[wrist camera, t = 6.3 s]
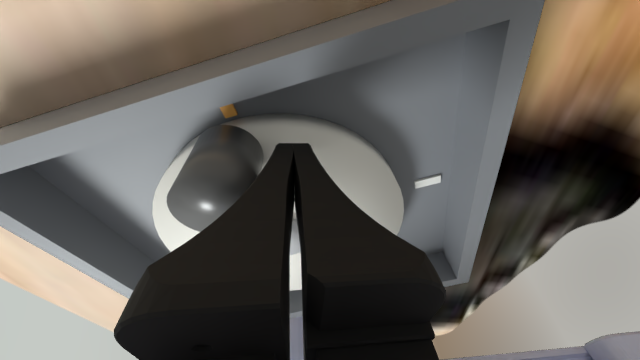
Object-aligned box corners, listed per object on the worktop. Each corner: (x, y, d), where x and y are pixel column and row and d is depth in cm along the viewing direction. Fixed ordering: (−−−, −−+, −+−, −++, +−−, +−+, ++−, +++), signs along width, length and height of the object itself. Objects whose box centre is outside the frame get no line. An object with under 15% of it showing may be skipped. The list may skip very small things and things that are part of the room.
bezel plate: (447, 245, 23) (468, 282, 20) (207, 298, 25) (197, 337, 23) (483, -30, 10) (552, -30, 7) (-10, 131, 12) (-92, 174, 10)
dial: (407, 249, 20) (432, 309, 17) (242, 291, 23) (232, 353, 19) (374, 56, 11) (418, 100, 7) (87, 161, 13) (5, 239, 9)
